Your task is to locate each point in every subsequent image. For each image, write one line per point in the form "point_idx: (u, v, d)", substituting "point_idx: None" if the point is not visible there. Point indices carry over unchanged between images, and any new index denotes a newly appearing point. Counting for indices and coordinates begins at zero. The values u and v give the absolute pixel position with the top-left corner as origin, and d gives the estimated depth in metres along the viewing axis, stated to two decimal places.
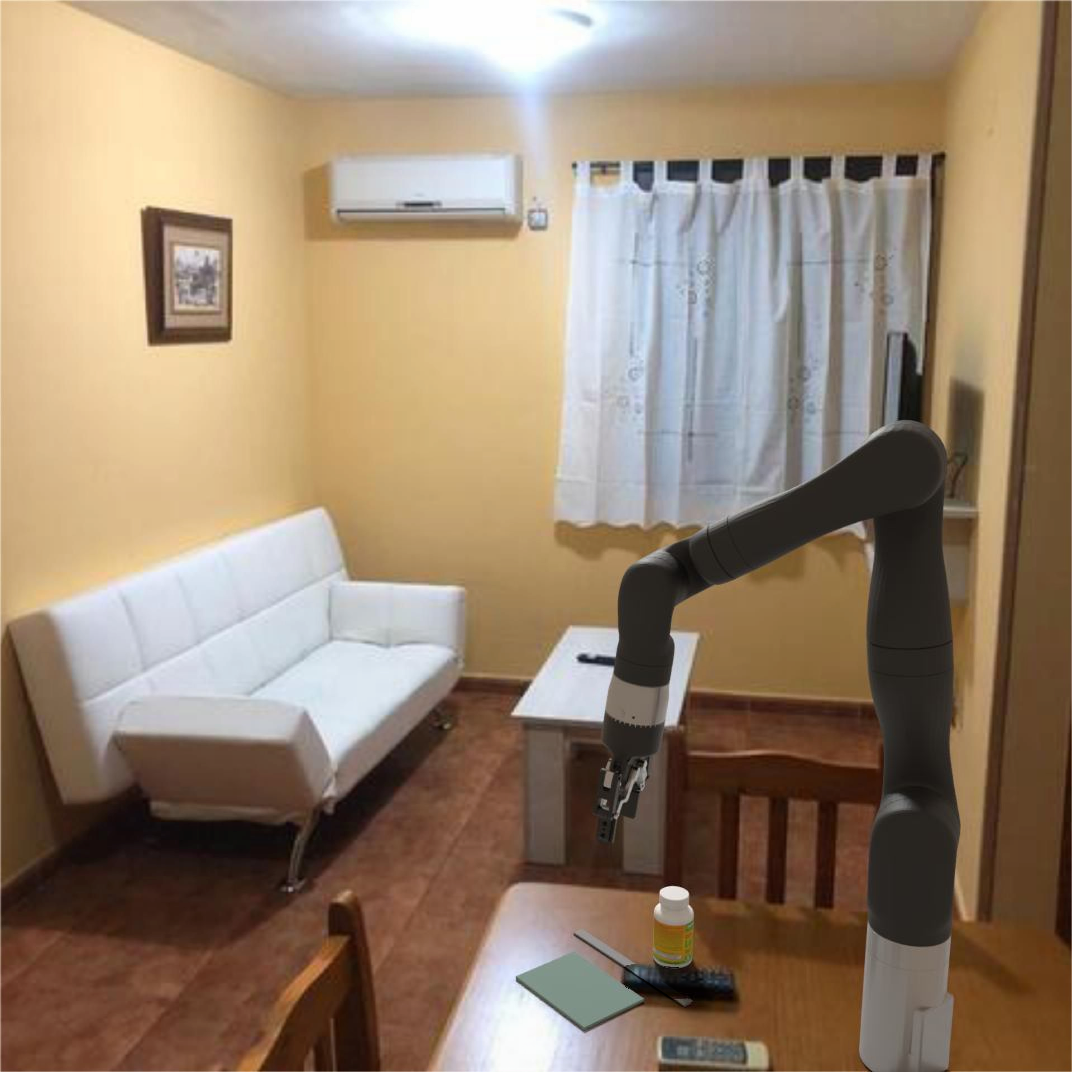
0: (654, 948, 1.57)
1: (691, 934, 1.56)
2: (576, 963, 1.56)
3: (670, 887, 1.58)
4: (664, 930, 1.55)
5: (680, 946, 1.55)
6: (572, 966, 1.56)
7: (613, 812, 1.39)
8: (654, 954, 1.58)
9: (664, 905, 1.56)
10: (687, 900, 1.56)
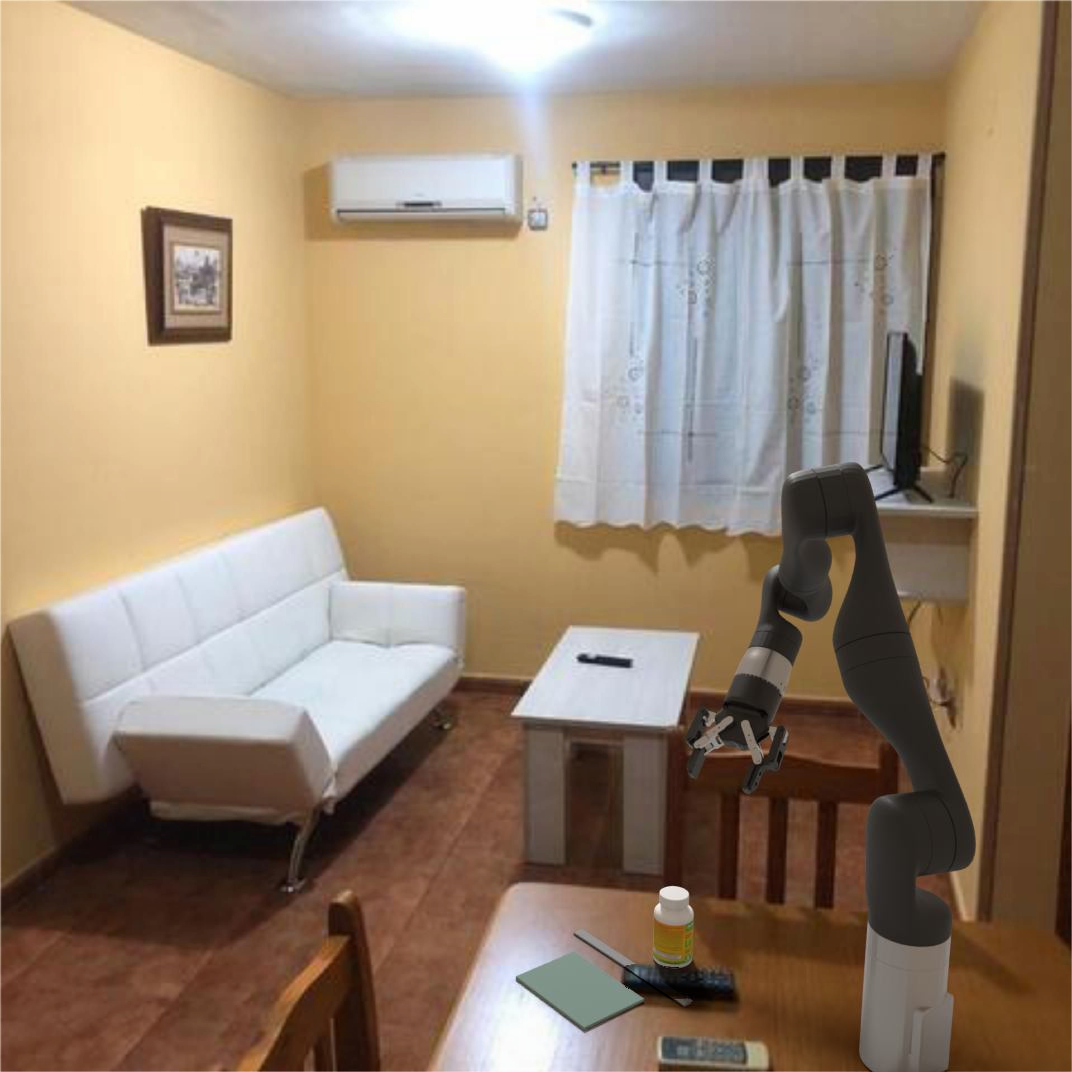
0: (654, 948, 1.57)
1: (691, 934, 1.56)
2: (576, 963, 1.56)
3: (670, 887, 1.58)
4: (664, 930, 1.55)
5: (680, 946, 1.55)
6: (572, 966, 1.56)
7: (689, 735, 1.69)
8: (654, 954, 1.58)
9: (664, 905, 1.56)
10: (687, 900, 1.56)
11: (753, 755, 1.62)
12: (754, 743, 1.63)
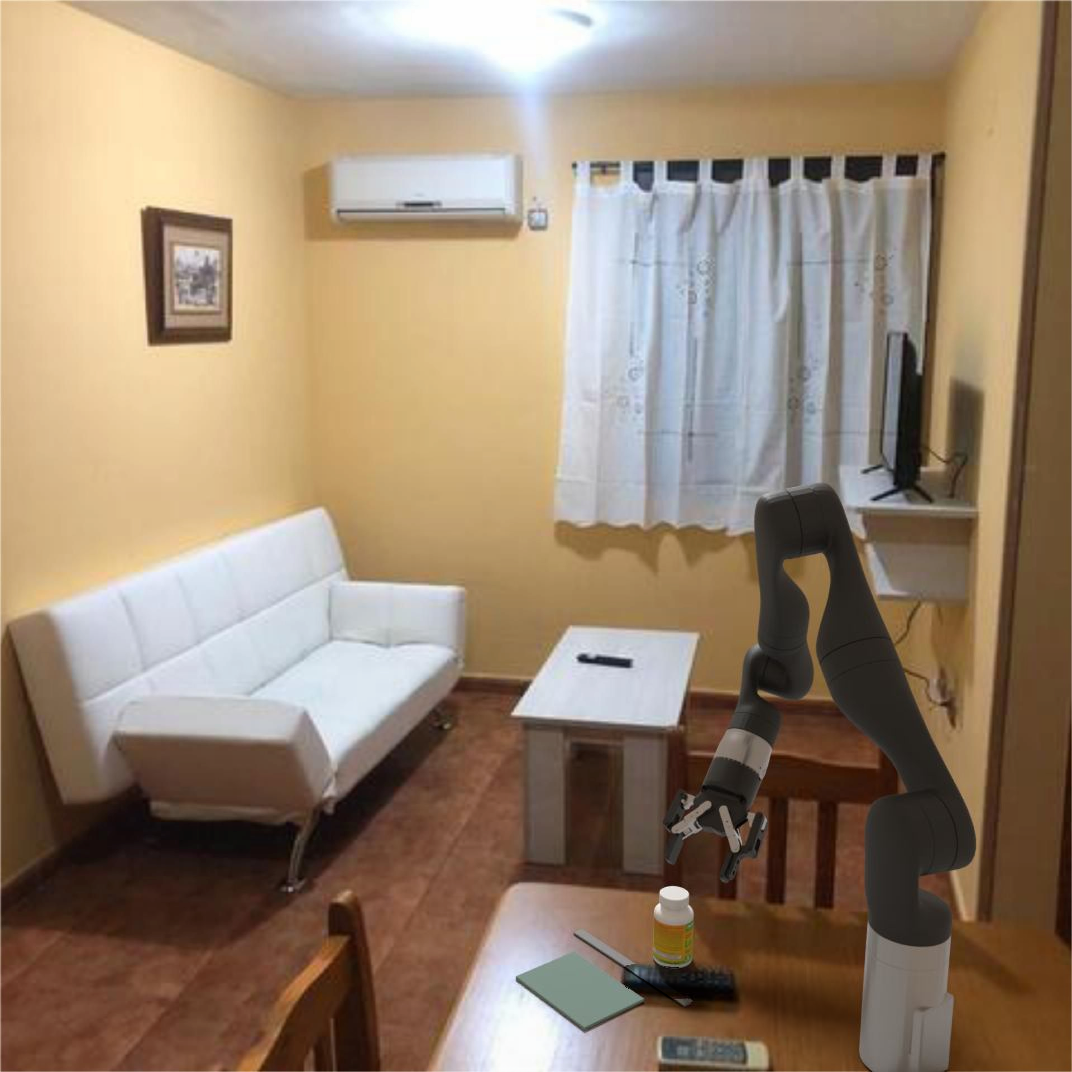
0: (654, 948, 1.57)
1: (691, 934, 1.56)
2: (576, 963, 1.56)
3: (670, 887, 1.58)
4: (664, 930, 1.55)
5: (680, 946, 1.55)
6: (572, 966, 1.56)
7: (667, 819, 1.66)
8: (654, 954, 1.58)
9: (664, 905, 1.56)
10: (687, 900, 1.56)
11: (731, 843, 1.60)
12: (732, 830, 1.60)
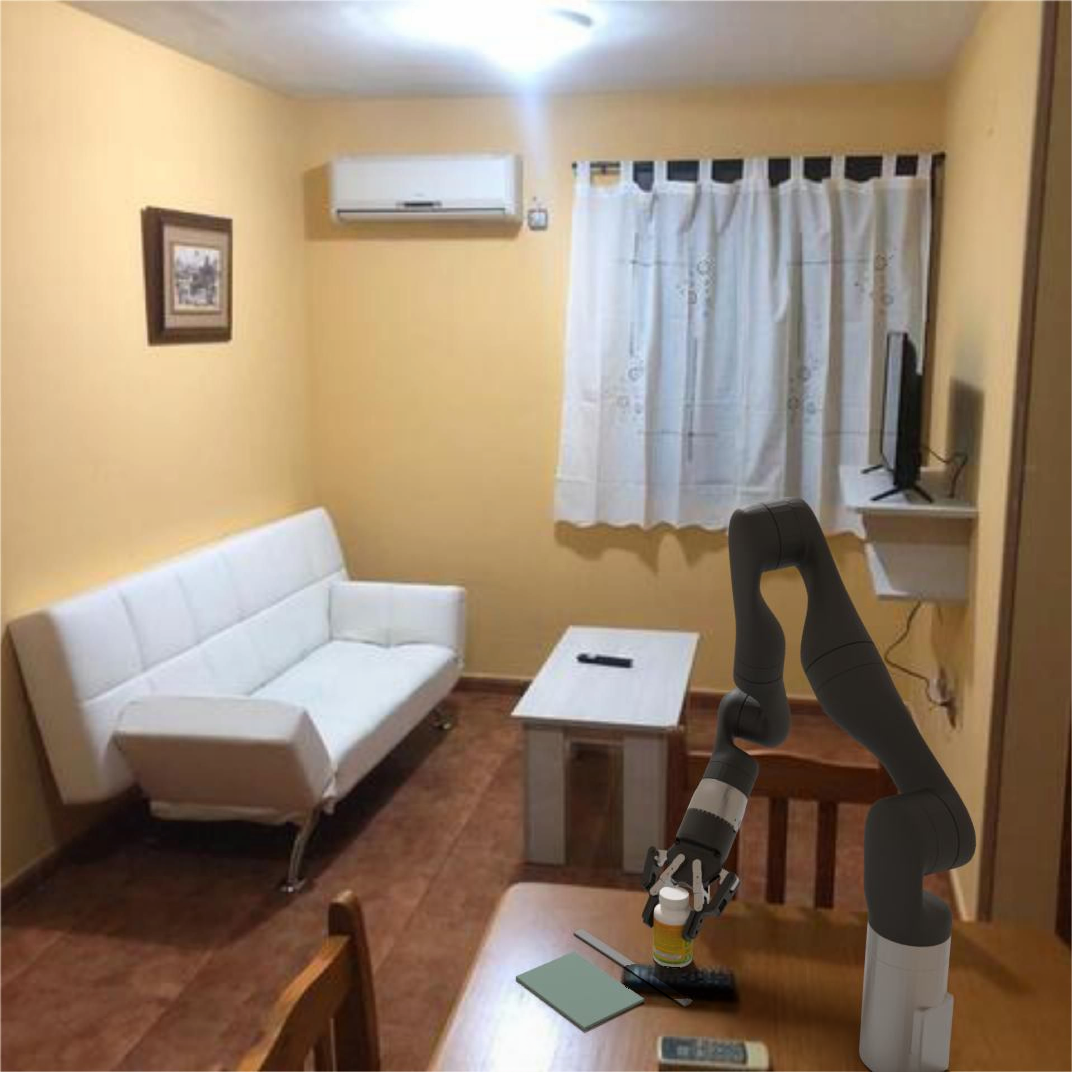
0: (654, 948, 1.57)
1: None
2: (576, 963, 1.56)
3: (670, 887, 1.58)
4: (664, 930, 1.55)
5: (679, 946, 1.55)
6: (572, 966, 1.56)
7: (645, 880, 1.61)
8: (654, 954, 1.57)
9: (663, 905, 1.56)
10: (687, 900, 1.56)
11: (696, 900, 1.56)
12: (699, 888, 1.56)
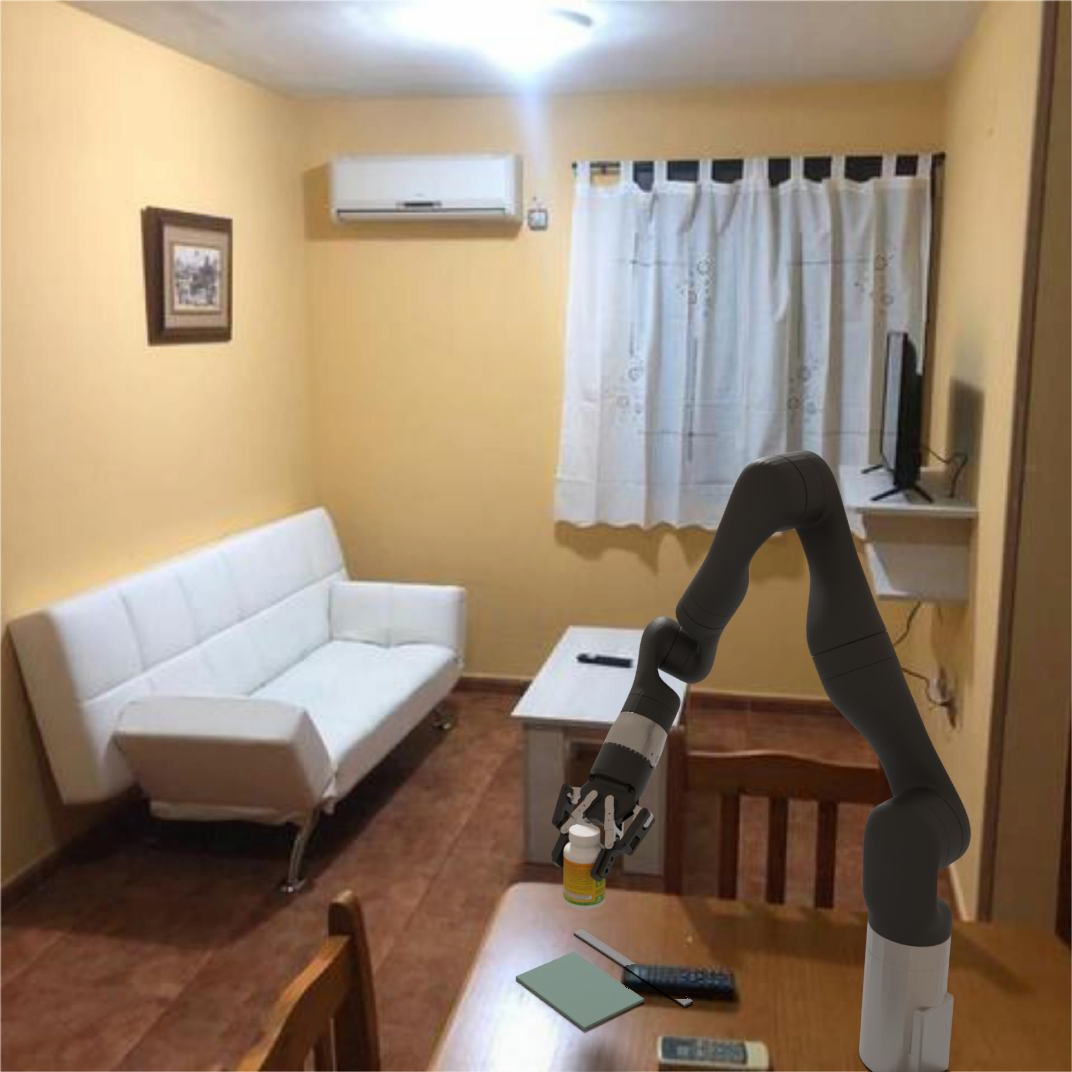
0: (564, 889, 1.48)
1: None
2: (576, 963, 1.56)
3: (581, 824, 1.49)
4: (573, 868, 1.46)
5: (589, 885, 1.46)
6: (572, 966, 1.56)
7: (557, 818, 1.52)
8: (564, 895, 1.48)
9: (572, 842, 1.46)
10: (597, 837, 1.46)
11: (607, 837, 1.47)
12: (611, 824, 1.47)
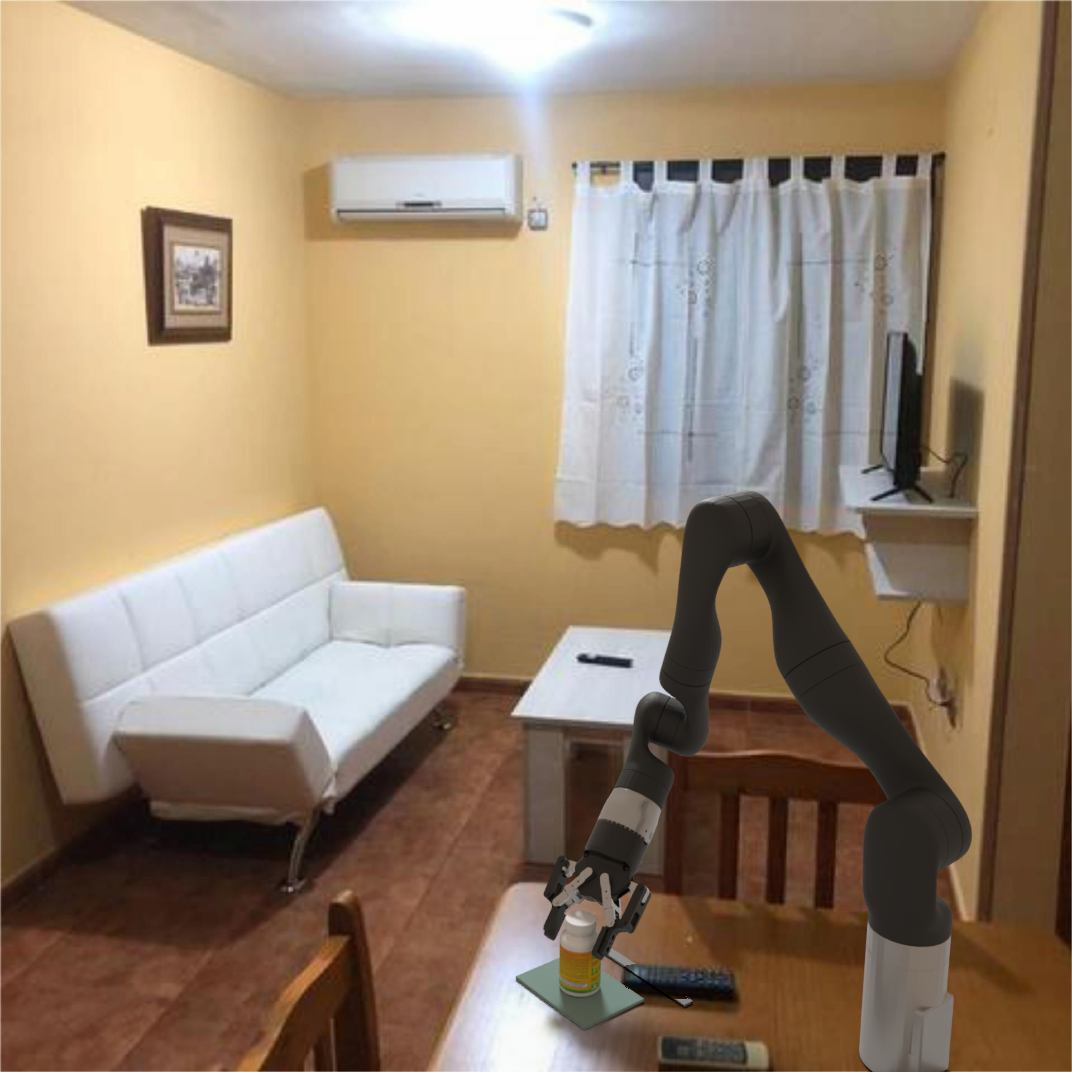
0: (560, 975, 1.50)
1: (598, 961, 1.49)
2: None
3: (577, 911, 1.51)
4: (569, 957, 1.48)
5: (585, 974, 1.48)
6: None
7: (548, 890, 1.53)
8: (560, 982, 1.50)
9: (569, 931, 1.48)
10: (594, 926, 1.48)
11: (607, 915, 1.48)
12: (609, 902, 1.48)
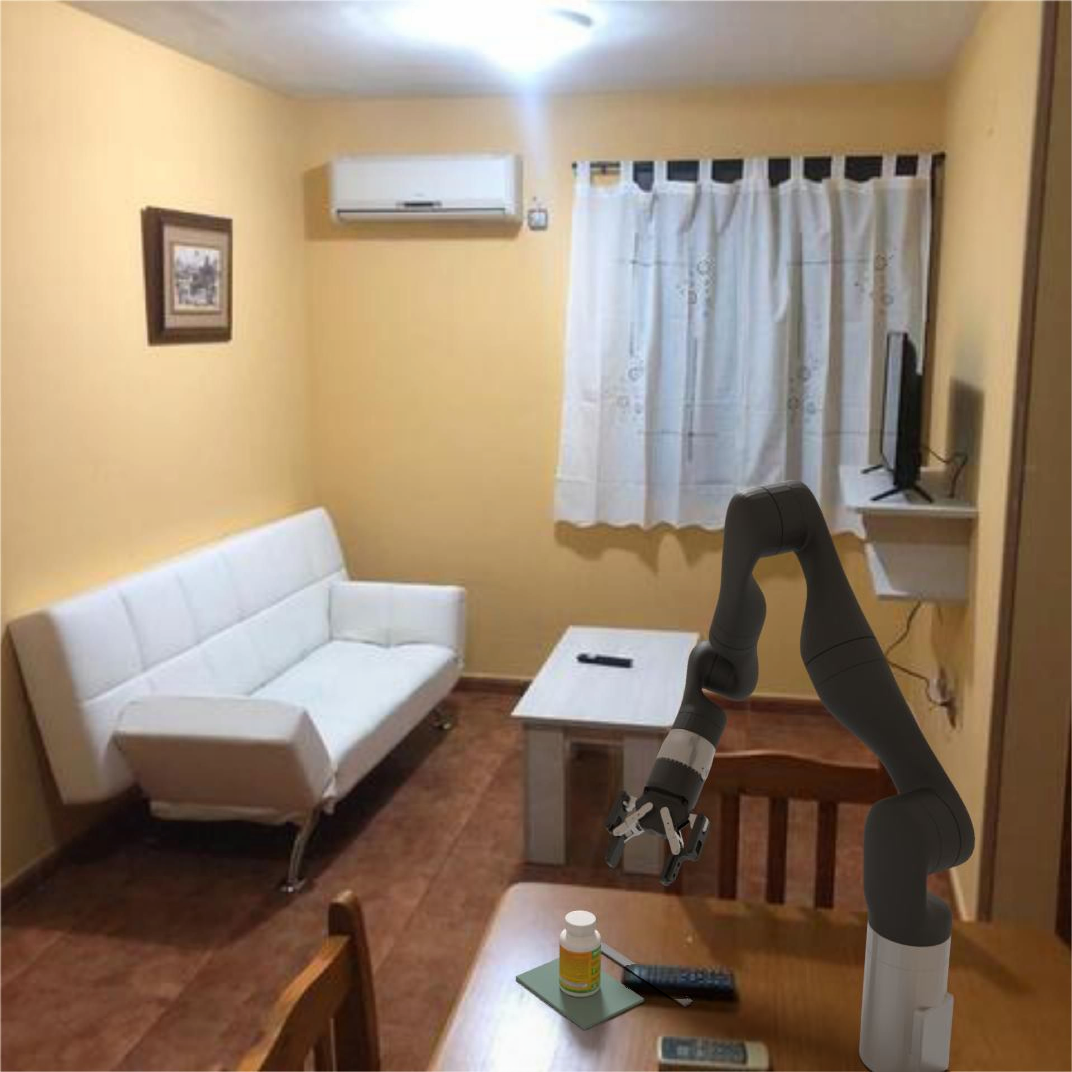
0: (560, 976, 1.50)
1: (598, 961, 1.49)
2: None
3: (577, 911, 1.51)
4: (569, 957, 1.48)
5: (585, 974, 1.48)
6: None
7: (609, 821, 1.63)
8: (560, 982, 1.50)
9: (569, 931, 1.48)
10: (593, 925, 1.48)
11: (672, 845, 1.57)
12: (673, 832, 1.57)
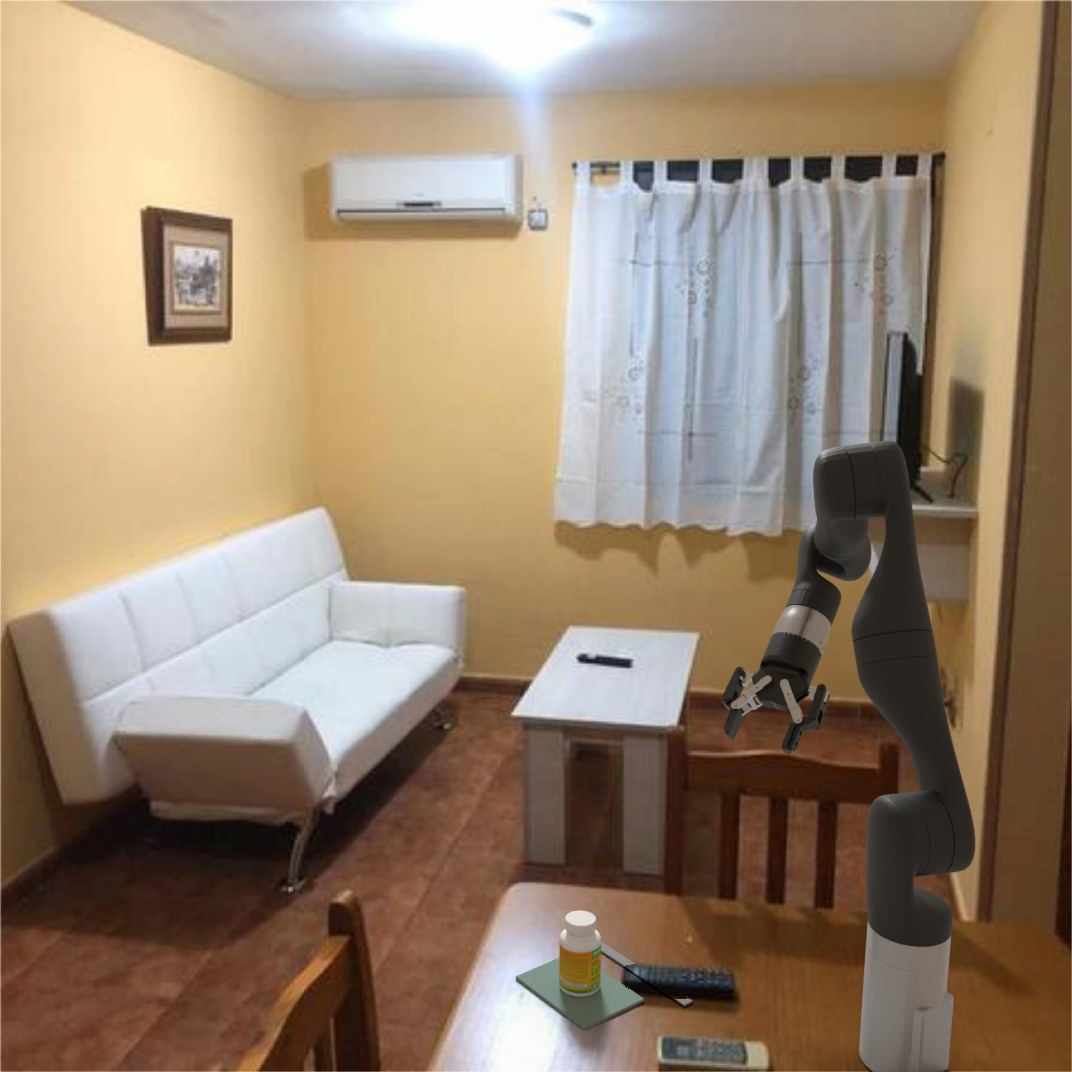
0: (560, 976, 1.50)
1: (598, 961, 1.49)
2: None
3: (577, 911, 1.51)
4: (569, 957, 1.48)
5: (585, 974, 1.48)
6: None
7: (726, 695, 1.64)
8: (560, 982, 1.50)
9: (569, 931, 1.48)
10: (593, 926, 1.48)
11: (793, 714, 1.58)
12: (794, 702, 1.58)
